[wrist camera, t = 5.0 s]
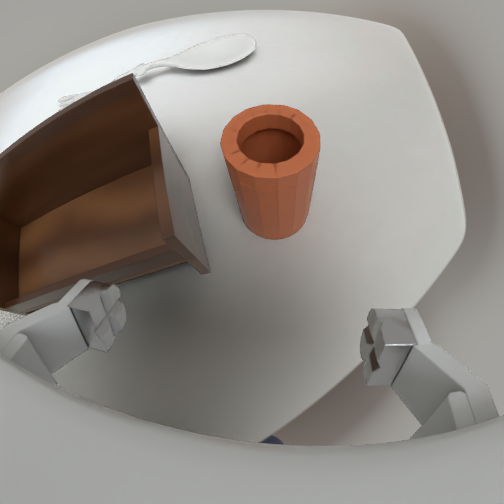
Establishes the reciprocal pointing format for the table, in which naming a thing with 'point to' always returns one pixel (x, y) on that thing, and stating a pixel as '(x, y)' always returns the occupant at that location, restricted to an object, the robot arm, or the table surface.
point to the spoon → (194, 58)
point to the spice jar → (272, 167)
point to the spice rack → (93, 200)
